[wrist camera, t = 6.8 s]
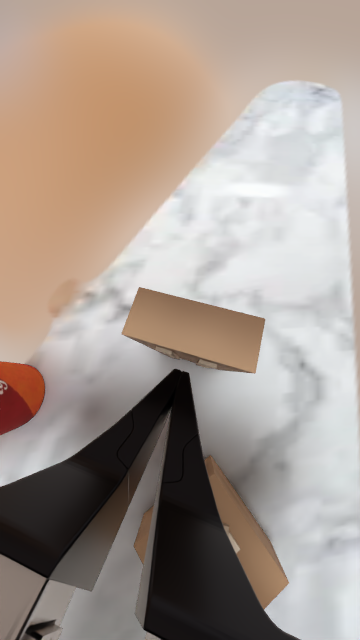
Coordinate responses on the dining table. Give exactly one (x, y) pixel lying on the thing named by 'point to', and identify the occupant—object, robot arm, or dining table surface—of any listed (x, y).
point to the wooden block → (195, 331)
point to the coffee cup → (19, 394)
